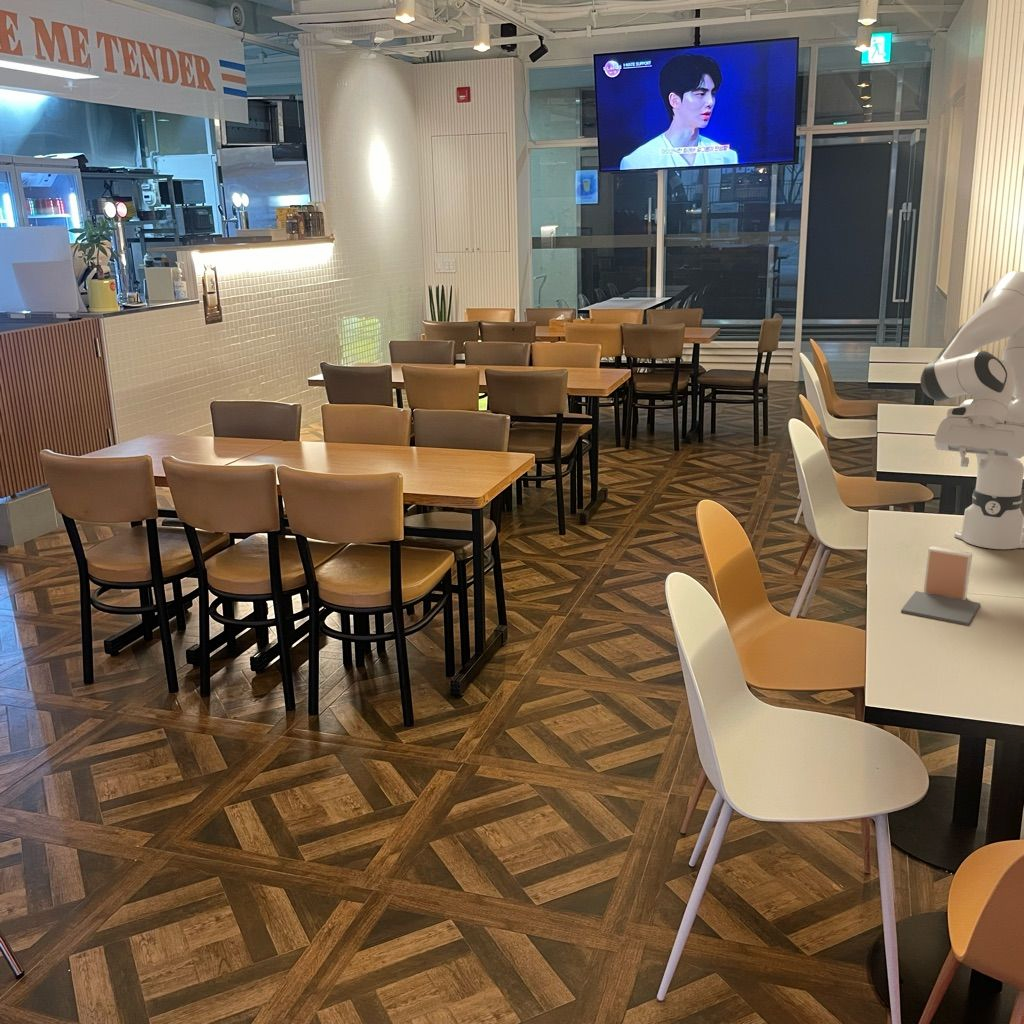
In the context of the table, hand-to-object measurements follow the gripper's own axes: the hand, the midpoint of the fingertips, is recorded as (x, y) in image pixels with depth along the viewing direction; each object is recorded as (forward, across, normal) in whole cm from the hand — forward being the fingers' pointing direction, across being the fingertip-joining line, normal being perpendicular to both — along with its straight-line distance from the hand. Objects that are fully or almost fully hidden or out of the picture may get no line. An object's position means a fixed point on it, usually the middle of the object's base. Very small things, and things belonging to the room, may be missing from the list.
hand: (973, 466), depth 237 cm
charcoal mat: (+38, -1, 0) cm, 38 cm away
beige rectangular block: (+32, 0, -7) cm, 33 cm away
